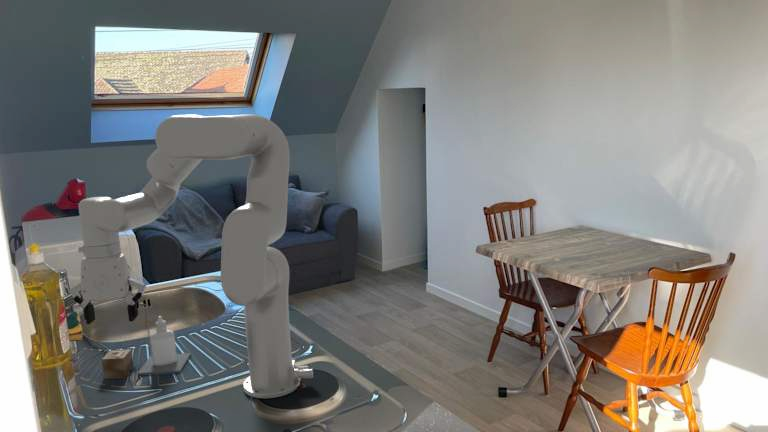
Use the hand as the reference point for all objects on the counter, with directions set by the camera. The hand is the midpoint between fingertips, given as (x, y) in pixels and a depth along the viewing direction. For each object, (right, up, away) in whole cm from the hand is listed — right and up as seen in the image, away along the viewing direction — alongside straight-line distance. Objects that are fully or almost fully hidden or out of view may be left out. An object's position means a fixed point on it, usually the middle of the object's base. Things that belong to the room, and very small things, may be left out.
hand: (112, 320), depth 138 cm
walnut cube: (+1, -13, +2) cm, 13 cm away
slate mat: (+10, -12, +6) cm, 17 cm away
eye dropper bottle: (+10, -12, +6) cm, 17 cm away
